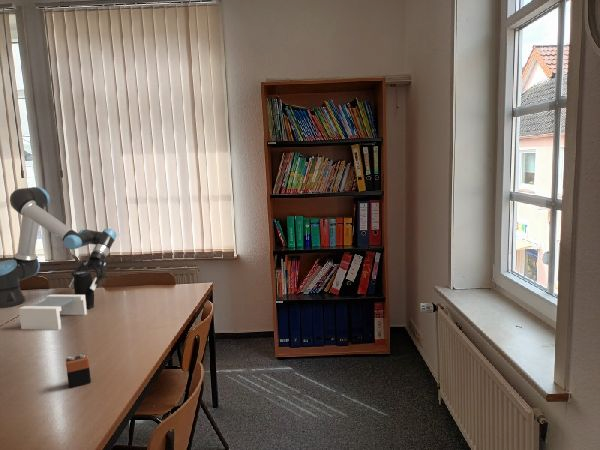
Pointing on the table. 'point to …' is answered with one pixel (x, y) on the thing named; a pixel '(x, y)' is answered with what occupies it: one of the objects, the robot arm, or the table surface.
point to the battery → (78, 370)
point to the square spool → (51, 311)
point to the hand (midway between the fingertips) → (81, 288)
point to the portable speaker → (84, 286)
